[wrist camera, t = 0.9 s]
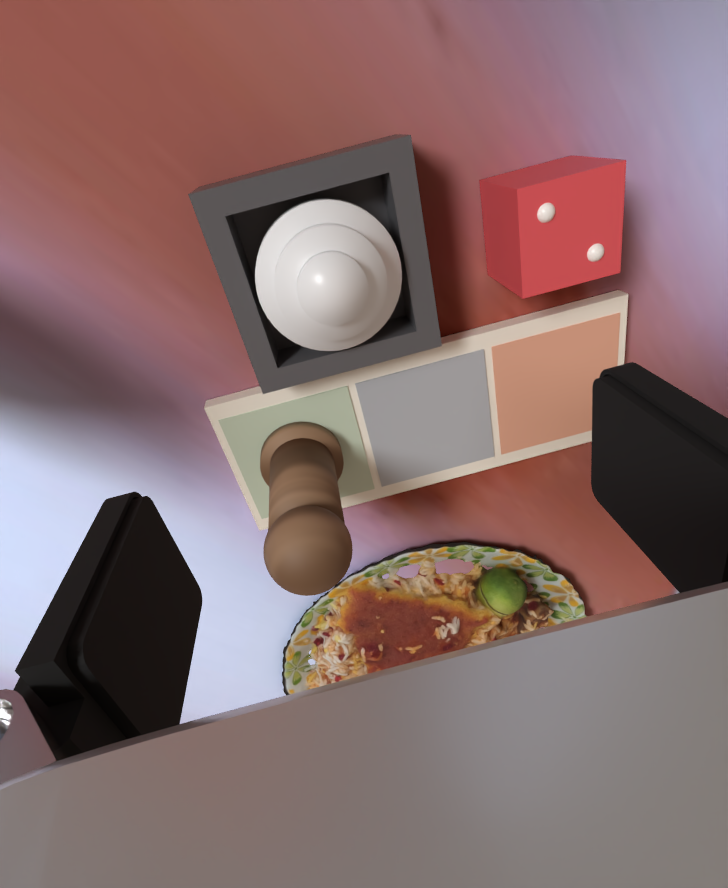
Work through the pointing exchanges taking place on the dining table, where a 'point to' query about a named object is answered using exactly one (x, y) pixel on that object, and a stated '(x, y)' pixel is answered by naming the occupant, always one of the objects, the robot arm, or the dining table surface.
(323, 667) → the rice dish
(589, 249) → the die
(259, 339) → the dome housing
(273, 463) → the wooden pepper mill
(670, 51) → the dining table surface
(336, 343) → the dome
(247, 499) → the board
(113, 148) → the dining table surface
